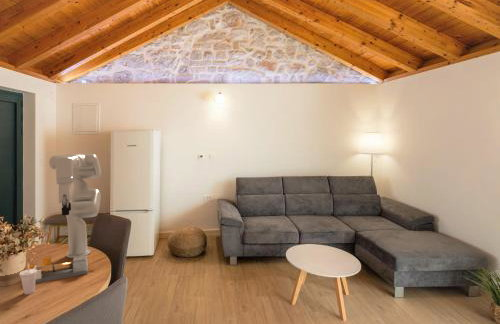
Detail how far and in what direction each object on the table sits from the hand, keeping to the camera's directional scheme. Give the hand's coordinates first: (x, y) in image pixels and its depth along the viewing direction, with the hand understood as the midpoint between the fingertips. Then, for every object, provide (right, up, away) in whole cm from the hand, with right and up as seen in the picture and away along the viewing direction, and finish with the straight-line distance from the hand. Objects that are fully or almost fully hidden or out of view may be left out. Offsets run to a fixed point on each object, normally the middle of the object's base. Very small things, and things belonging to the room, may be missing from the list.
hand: (66, 212), depth 159 cm
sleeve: (+8, -29, -1) cm, 30 cm away
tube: (-1, -29, -6) cm, 29 cm away
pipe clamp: (-12, -31, -3) cm, 33 cm away
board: (0, -31, -5) cm, 31 cm away
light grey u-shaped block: (-8, -30, -9) cm, 32 cm away
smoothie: (-4, -33, -22) cm, 39 cm away
